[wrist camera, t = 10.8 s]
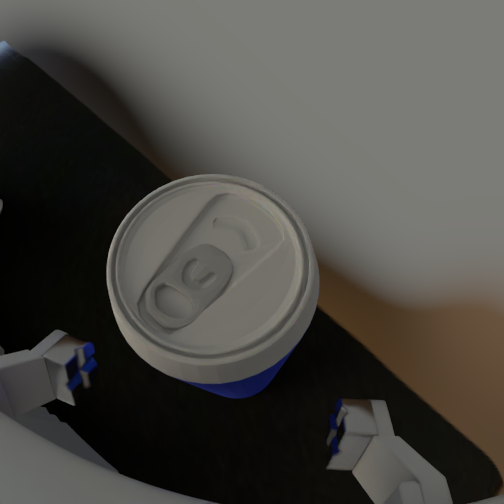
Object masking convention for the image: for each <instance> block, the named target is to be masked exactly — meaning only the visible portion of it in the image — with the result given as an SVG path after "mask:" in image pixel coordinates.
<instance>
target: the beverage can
mask: <svg viewBox="0 0 504 504" xmlns="http://www.w3.org/2000/svg"><path fill="white" fill-rule="evenodd" d="M319 279H320V278H319V270H318V263H317V260H316V256H315V253H314V250H313V246H312V243H311V239H310V236H309V233H308V231H307V229H306V227H305V226H304V224H303V222H302V220H301V219H300V217H299V216H298V215H297V213H296V212H295V211H294V209H293V208H292V207H291V206H290V205H289V204H288V203H286V201H284V199H283V198H281V197H280V196H279V195H277V194H276V193H274V192H273V191H271V190H270V189H268V188H266V187H264V186H262V185H260V184H258V183H256V182H253V181H251V180H247V179H245V178H241V177H236V176H231V175H222V174H207V175H196V176H191V177H186V178H183V179H179V180H176V181H173V182H171V183H169V184H166V185H164V186H162V187H160V188H158V189H157V190H155V191H153V192H152V193H150V194H149V195H147V196H146V197H145V198H144V199H142V200H141V201H140V202H139V203H137V204H136V206H135V207H134V208H133V209H132V210H131V211H130V212H129V213H128V214H127V216H126V217H125V219H124V220H123V221H122V223H121V224H120V226H119V228H118V230H117V232H116V234H115V236H114V238H113V241H112V244H111V247H110V250H109V254H108V261H107V286H108V292H109V297H110V301H111V305H112V308H113V312H114V316H115V318H116V321H117V323H118V326H119V329H120V330H121V332H122V334H123V336H124V337H125V339H126V341H127V342H128V344H129V345H130V346H131V347H132V348H133V349H134V351H135V352H136V353H137V354H138V355H139V356H140V357H141V358H142V359H144V360H145V361H146V362H147V363H149V364H150V365H151V366H152V367H154V368H156V369H158V370H160V371H161V372H163V373H165V374H167V375H169V376H171V377H174V378H176V379H179V380H181V381H184V382H186V383H189V384H191V385H194V386H196V387H199V388H202V389H204V390H207V391H210V392H213V393H215V394H218V395H221V396H224V397H228V398H246V397H250V396H253V395H255V394H257V393H259V392H260V391H262V390H263V389H264V388H265V387H266V386H267V385H268V384H269V383H270V382H271V380H272V379H273V378H274V376H275V375H276V374H277V372H278V371H279V369H280V368H281V367H282V365H283V364H284V362H285V361H286V360H287V358H288V357H289V355H290V354H291V353H292V351H293V350H294V348H295V347H296V345H297V344H298V343H299V341H300V340H301V338H302V336H303V335H304V333H305V332H306V330H307V328H308V327H309V325H310V322H311V320H312V317H313V315H314V312H315V310H316V305H317V301H318V296H319Z"/></svg>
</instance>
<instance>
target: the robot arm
mask: <svg viewBox="0 0 504 504" xmlns="http://www.w3.org/2000/svg"><path fill="white" fill-rule="evenodd" d="M2 207H3V202H2V200H1V199H0V213H1V210H2ZM94 353H95V349H94V344H92V343H91V342H89V341H86V340H84V339H81V338H79V337H76V336H74V335H71V334H68V333H65V332H63V331H61V330H55V331H54V332H52V333H51V334H50V335H49V336H47V337H46V338H45V339H44V340H43V341H41V342H40V343H39V344H38V345H37V346H35V347H34V348H33V349H32V350H31V351H29V350H23V351H19V352H15V353H11V354H6V355H2V356H0V504H219V503H214V502H210V501H206V500H201V499H197V498H193V497H189V496H186V495H182V494H178V493H175V492H171V491H168V490H165V489H161V488H158V487H155V486H152V485H149V484H146V483H143V482H140V481H138V480H135V479H132V478H129V477H127V476H124V475H121V474H119V473H116V472H114V471H111V470H109V469H107V468H104V467H102V466H99V465H97V464H95V463H93V462H90V461H88V460H86V459H84V458H82V457H80V456H78V455H75V454H73V453H71V452H69V451H67V450H65V449H63V448H61V447H60V446H58V445H56V444H54V443H52V442H50V441H48V440H47V439H45V438H43V437H41V436H39V435H38V434H36V433H34V432H33V431H31V430H29V429H28V428H26V427H24V426H23V425H21V424H19V423H18V421H17V419H16V416H18V415H21V414H23V413H25V412H28V411H30V410H32V409H34V408H37V407H39V406H41V405H43V404H46V403H48V402H50V401H52V400H54V399H56V398H57V399H60V400H62V401H64V402H66V403H69V404H71V405H73V406H75V405H76V404H77V403H78V402H79V400H80V399H81V398H82V397H83V395H84V389H86V388H89V387H91V386H92V384H93V383H94V382H95V379H96V376H97V370H98V367H97V362H96V361H95V359H94V358H93V355H94ZM334 407H335V413H334V414H332V415H331V416H330V418H329V421H328V423H327V428H326V435H325V443H326V444H327V445H328V446H329V448H328V450H327V452H326V469H333V470H347V471H352V473H353V474H354V476H355V477H356V479H357V480H358V481H359V483H360V484H361V485H362V487H363V488H364V490H365V491H366V492H367V494H368V495H369V496H370V498H371V499H372V501H373V502H374V503H375V504H453V503H452V499H451V495H450V492H449V488H448V485H447V482H446V478H445V477H444V476H443V475H442V474H441V473H440V472H439V471H437V470H436V469H435V468H434V467H433V466H432V465H431V464H429V463H428V462H427V461H426V460H425V459H424V458H423V457H422V456H420V455H419V454H418V453H417V452H416V451H415V450H414V449H413V448H411V447H410V446H409V445H408V444H407V443H406V442H405V441H404V440H402V439H401V438H400V437H399V436H395V435H394V431H393V428H392V424H391V420H390V416H389V413H388V409H387V405H386V402H385V401H384V400H364V399H352V398H340V397H339V398H338V400H337V401H336V404H335V406H334ZM468 504H504V494H502V495H499V496H496V497H492V498H488V499H485V500H481V501H477V502H473V503H468Z"/></svg>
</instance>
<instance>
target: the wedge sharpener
mask: <svg viewBox="0 0 504 504" xmlns="http://www.w3.org/2000/svg"><path fill="white" fill-rule="evenodd" d="M2 355H4V349H3V348H2V347H1V346H0V356H2ZM16 419H17V421H18V423H19V424H21V425H23V426H24V427H26V428H28V429H29V430H31V431H33V432H34V433H36V434H38V435H39V436H41V437H43V438H45V439H47V440H48V441H50V442H52V443H54V444H56V445H58V446H60V447H61V448H63V449H65V450H67V451H69V452H71V453H73V454H75V455H78V456H80V457H82V458H84V459H86V460H88V461H90V462H93V463H95V464H97V465H99V466H102V467H104V468H107V469H109V470H111V471H114V472H116V473H119V472H118V471H117V470H116V469H115V468H114V467H112V466H111V465H110V464H109V463H108V462H107V461H105V460H104V459H103V458H102V457H101V456H100V455H99V454H98V453H96V452H95V451H94V450H93V449H92V448H91V447H90V446H89V445H88V444H87V443H86V442H85V441H84V440H83V439H82V438H81V437H80V436H79V435H78V434H77V433H76V432H75V431H74V430H73V429H72V428H71V427H70V426H69V425H68V424H67V423H64V422H60V421H59V419H58V418H57V416H56V415H52V414H49V412H48V411H47V409H46V408H45V407H40V406H39V407H37V408H34V409H32V410H30V411H28V412H25V413H23V414H21V415H18V416H16Z"/></svg>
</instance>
